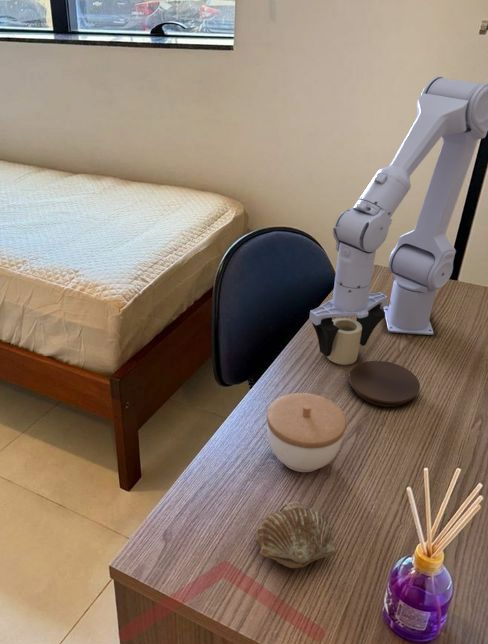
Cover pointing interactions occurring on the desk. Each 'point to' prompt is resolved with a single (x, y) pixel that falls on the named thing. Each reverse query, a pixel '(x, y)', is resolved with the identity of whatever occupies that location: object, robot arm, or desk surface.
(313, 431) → the trinket box
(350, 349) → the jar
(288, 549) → the seashell
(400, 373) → the stand
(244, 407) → the desk surface
